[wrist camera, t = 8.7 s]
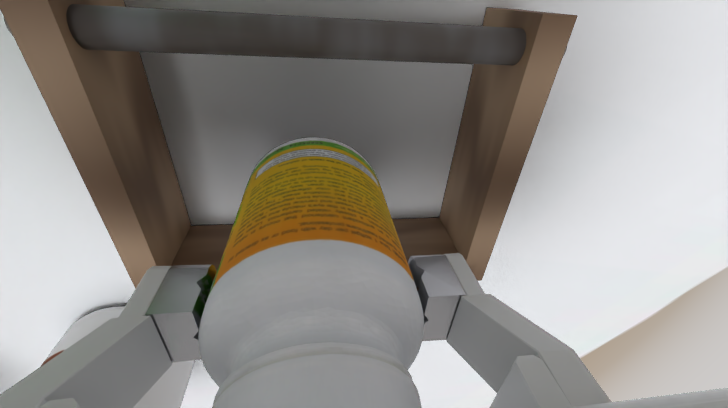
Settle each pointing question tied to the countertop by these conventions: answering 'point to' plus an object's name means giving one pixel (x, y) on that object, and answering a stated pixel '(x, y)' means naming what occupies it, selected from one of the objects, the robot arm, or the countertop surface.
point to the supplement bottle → (312, 290)
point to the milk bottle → (165, 394)
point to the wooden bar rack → (277, 39)
